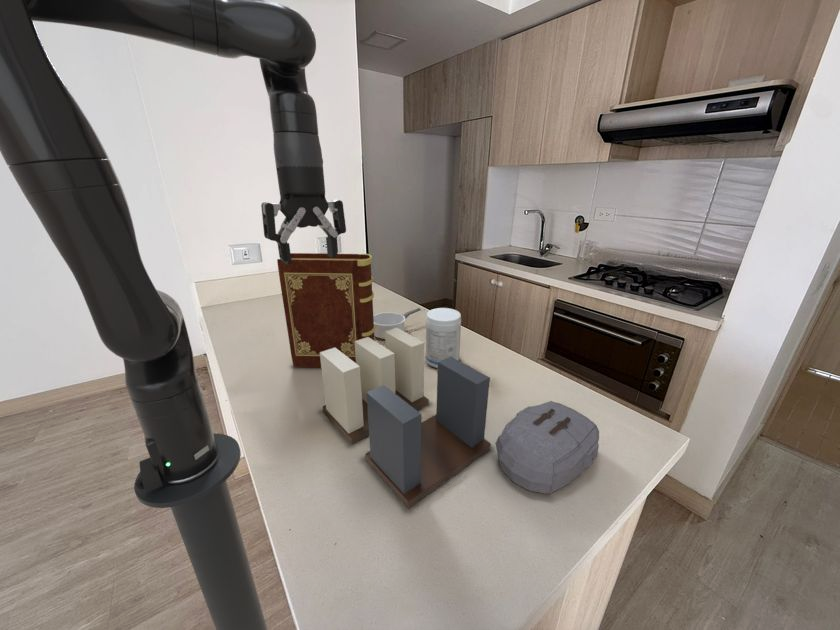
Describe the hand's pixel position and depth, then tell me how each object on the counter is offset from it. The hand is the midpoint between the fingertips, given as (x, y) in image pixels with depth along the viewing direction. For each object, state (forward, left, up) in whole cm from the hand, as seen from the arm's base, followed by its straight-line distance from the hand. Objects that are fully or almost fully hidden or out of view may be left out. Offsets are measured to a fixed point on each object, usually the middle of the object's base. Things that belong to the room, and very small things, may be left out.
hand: (310, 260), depth 63 cm
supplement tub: (+35, 0, -34) cm, 49 cm away
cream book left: (+1, -6, -33) cm, 33 cm away
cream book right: (+17, -6, -33) cm, 37 cm away
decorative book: (+12, +19, -34) cm, 41 cm away
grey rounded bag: (+25, -38, -34) cm, 57 cm away
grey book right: (+17, -24, -33) cm, 44 cm away
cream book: (+9, -6, -33) cm, 34 cm away
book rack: (+9, -15, -34) cm, 38 cm away
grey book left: (+1, -24, -33) cm, 40 cm away
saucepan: (+38, +25, -34) cm, 57 cm away
